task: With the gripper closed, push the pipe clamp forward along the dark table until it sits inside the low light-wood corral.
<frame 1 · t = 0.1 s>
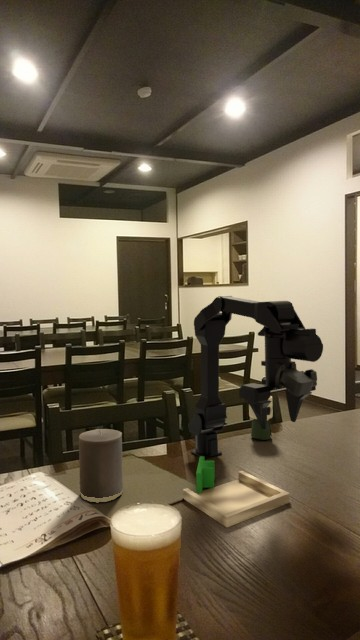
hand: (279, 425, 100), 15 cm above the table, tool pointing down, fingers open, 9 cm apart
pillar candle: (102, 494, 101), on the table
pipe clamp: (206, 483, 105), on the table, touching corral
corral: (233, 499, 96), on the table
character mug: (261, 439, 136), on the table
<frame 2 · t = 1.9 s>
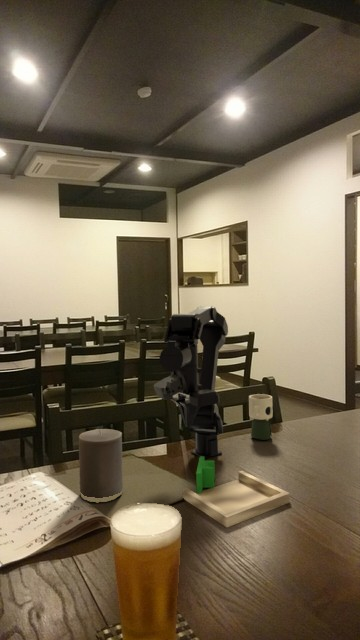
hand: (188, 426, 110), 12 cm above the table, tool pointing down, fingers closed
nothing on the table moved.
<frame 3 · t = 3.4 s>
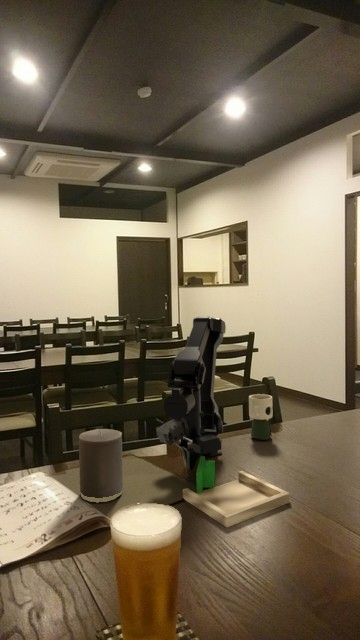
hand: (190, 470, 110), 1 cm above the table, tool pointing down, fingers closed
pipe clamp: (206, 483, 105), on the table, touching gripper
everything else where it was.
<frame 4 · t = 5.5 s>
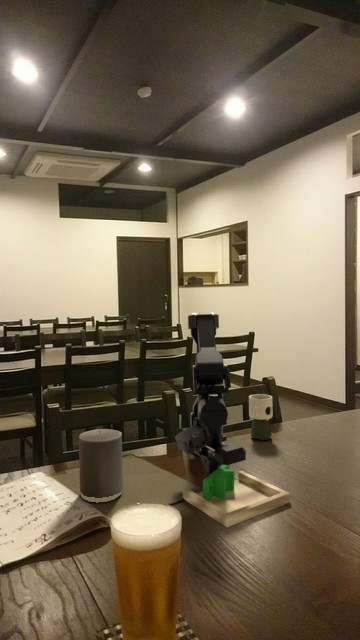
hand: (210, 479, 103), 2 cm above the table, tool pointing down, fingers closed
pipe clamp: (221, 493, 99), resting on corral, touching gripper
everything else where it was.
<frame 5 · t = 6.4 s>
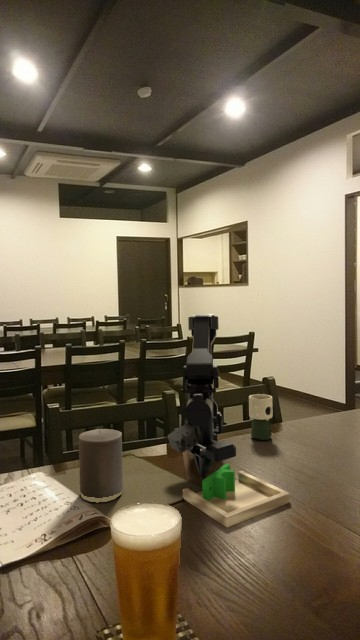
hand: (202, 477, 106), 1 cm above the table, tool pointing down, fingers closed
pipe clamp: (221, 493, 99), resting on corral
everything else where it was.
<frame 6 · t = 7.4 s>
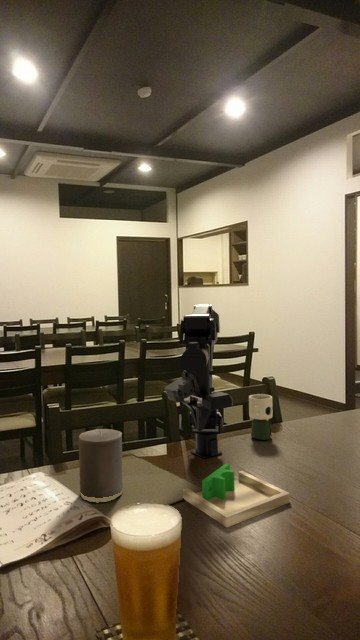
hand: (199, 430, 107), 12 cm above the table, tool pointing down, fingers closed
nothing on the table moved.
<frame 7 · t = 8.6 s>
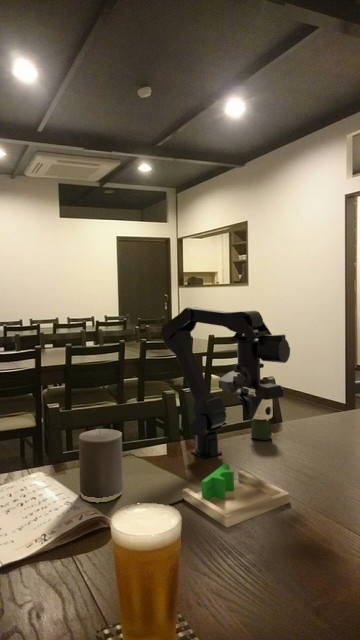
hand: (250, 419, 114), 12 cm above the table, tool pointing down, fingers closed
nothing on the table moved.
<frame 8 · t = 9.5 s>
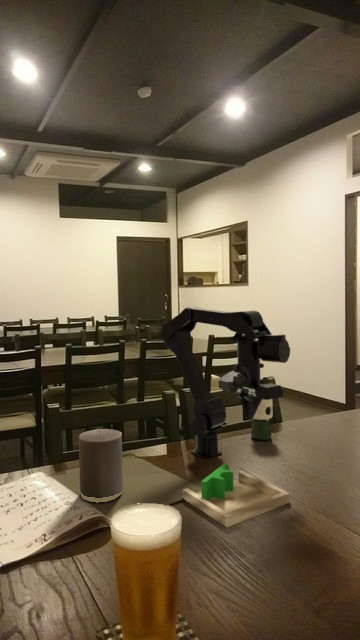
hand: (250, 419, 114), 12 cm above the table, tool pointing down, fingers closed
nothing on the table moved.
at the end: pipe clamp inside the target area on the corral (3.6 cm from its centre), point 0.0 cm above the corral's base; pipe clamp moved 6.3 cm from its start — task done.
